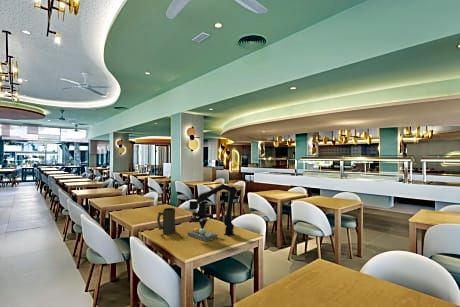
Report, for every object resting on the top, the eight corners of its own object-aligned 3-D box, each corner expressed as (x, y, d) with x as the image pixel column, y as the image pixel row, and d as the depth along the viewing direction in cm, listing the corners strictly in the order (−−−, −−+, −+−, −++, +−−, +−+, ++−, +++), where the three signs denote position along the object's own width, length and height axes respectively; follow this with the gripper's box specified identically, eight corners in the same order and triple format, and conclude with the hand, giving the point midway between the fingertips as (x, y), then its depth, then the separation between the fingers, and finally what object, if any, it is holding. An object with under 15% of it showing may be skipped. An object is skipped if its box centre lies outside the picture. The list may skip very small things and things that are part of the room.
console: (199, 231, 210) (199, 228, 210) (217, 237, 195) (217, 234, 195) (187, 235, 202) (187, 232, 202) (205, 241, 187) (205, 238, 187)
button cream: (208, 236, 197) (208, 231, 197) (212, 237, 194) (212, 232, 194) (203, 237, 194) (203, 232, 194) (207, 239, 190) (207, 233, 190)
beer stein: (172, 229, 218) (171, 206, 217) (178, 232, 210) (177, 208, 209) (156, 234, 207) (154, 210, 206) (162, 237, 199) (160, 212, 199)
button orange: (196, 232, 207) (197, 227, 207) (200, 233, 203) (200, 228, 203) (192, 233, 203) (192, 228, 203) (196, 235, 200) (196, 230, 200)
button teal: (202, 233, 202) (202, 228, 202) (206, 234, 199) (206, 229, 199) (197, 234, 198) (197, 229, 198) (201, 235, 195) (201, 230, 195)
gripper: (204, 206, 211) (204, 224, 211) (186, 209, 197) (186, 229, 197) (213, 207, 203) (213, 227, 203) (195, 211, 190) (195, 232, 190)
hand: (202, 228), depth 199 cm, fingers closed
